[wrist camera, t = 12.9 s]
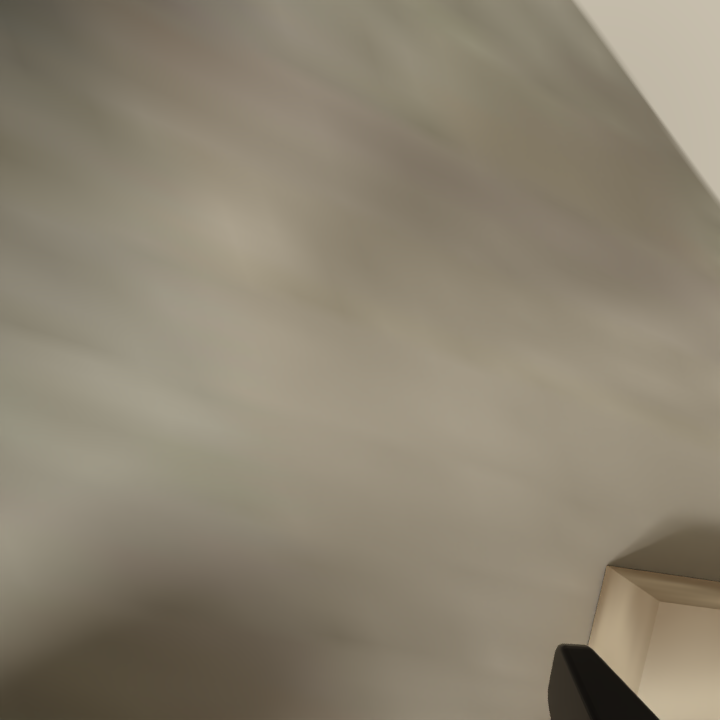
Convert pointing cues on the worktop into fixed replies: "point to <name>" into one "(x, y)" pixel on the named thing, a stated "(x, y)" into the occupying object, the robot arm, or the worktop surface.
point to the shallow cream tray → (662, 640)
